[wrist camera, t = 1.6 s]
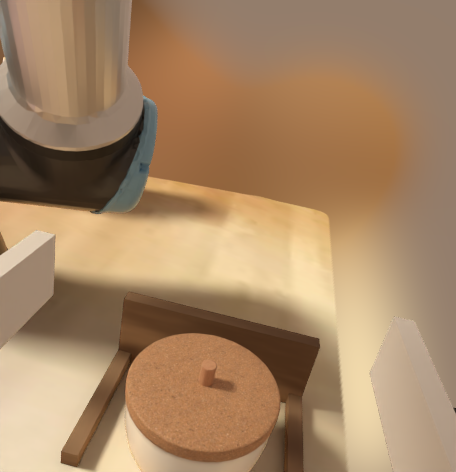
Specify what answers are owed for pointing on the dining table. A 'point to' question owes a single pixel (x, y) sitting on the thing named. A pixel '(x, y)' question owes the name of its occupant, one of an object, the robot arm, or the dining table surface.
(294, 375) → the shelf lane
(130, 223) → the dining table surface
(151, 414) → the lidded jar
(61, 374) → the dining table surface
